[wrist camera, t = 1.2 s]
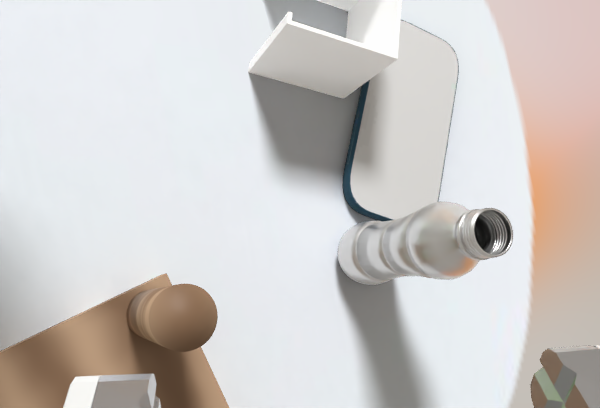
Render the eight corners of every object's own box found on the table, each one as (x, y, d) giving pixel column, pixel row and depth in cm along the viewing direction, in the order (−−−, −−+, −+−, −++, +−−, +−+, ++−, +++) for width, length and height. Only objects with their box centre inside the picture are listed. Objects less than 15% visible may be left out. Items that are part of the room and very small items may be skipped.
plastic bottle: (391, 279, 58) (537, 269, 40) (335, 291, 56) (465, 285, 38) (380, 220, 59) (519, 183, 41) (324, 228, 56) (447, 193, 38)
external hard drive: (423, 237, 62) (434, 235, 60) (333, 207, 58) (342, 204, 56) (453, 55, 68) (463, 48, 66) (373, 16, 64) (382, 8, 62)
